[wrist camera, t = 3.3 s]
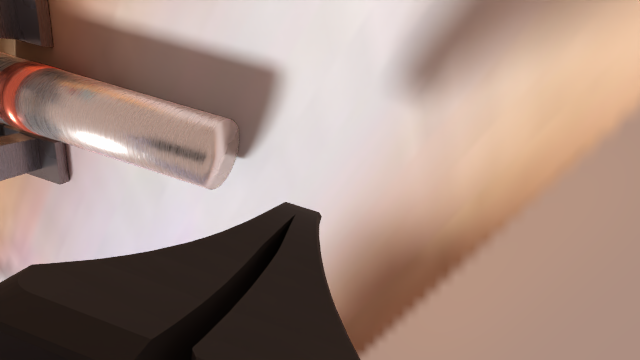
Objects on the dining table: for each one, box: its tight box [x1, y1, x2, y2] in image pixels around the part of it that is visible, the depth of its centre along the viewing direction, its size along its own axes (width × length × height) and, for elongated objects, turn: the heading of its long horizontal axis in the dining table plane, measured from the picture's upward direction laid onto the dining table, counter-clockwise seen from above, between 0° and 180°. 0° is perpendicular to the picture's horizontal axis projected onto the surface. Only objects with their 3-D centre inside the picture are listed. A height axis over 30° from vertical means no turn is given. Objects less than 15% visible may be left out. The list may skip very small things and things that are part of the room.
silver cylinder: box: [0, 52, 239, 189], centre depth 15 cm, size 14×4×4 cm, turn 77°
